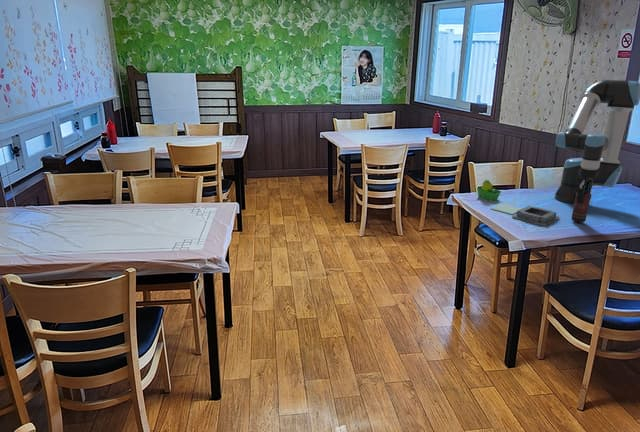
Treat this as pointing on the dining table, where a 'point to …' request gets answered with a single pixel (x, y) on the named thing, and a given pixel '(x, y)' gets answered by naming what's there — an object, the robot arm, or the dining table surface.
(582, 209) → the can
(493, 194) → the fruit basket
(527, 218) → the socket block
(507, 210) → the mat
